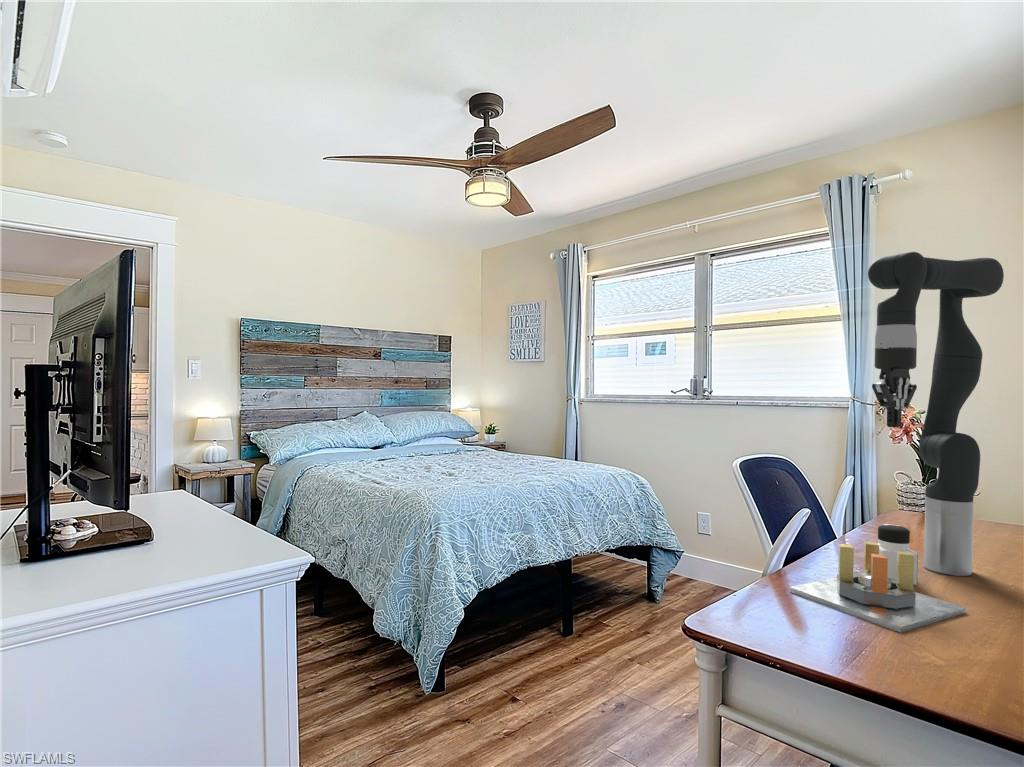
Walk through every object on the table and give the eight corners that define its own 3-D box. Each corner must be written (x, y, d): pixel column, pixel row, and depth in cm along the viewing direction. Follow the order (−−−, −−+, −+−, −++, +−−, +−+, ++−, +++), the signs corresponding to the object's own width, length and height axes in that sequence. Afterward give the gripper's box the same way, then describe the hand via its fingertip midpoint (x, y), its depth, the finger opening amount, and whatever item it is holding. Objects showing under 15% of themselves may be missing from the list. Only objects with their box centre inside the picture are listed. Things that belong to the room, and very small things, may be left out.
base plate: (853, 577, 131) (854, 555, 131) (965, 612, 112) (966, 586, 112) (789, 591, 121) (790, 568, 121) (900, 632, 101) (901, 604, 101)
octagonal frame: (823, 587, 120) (824, 543, 120) (867, 581, 125) (868, 539, 125) (881, 610, 108) (882, 561, 108) (928, 603, 112) (929, 555, 113)
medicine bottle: (917, 585, 127) (918, 531, 127) (882, 582, 128) (883, 528, 128) (902, 575, 134) (903, 523, 134) (869, 572, 135) (870, 521, 135)
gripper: (894, 349, 131) (893, 425, 130) (859, 346, 124) (857, 426, 124) (931, 347, 124) (930, 428, 124) (896, 344, 118) (894, 429, 118)
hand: (893, 427), depth 124 cm, fingers closed
